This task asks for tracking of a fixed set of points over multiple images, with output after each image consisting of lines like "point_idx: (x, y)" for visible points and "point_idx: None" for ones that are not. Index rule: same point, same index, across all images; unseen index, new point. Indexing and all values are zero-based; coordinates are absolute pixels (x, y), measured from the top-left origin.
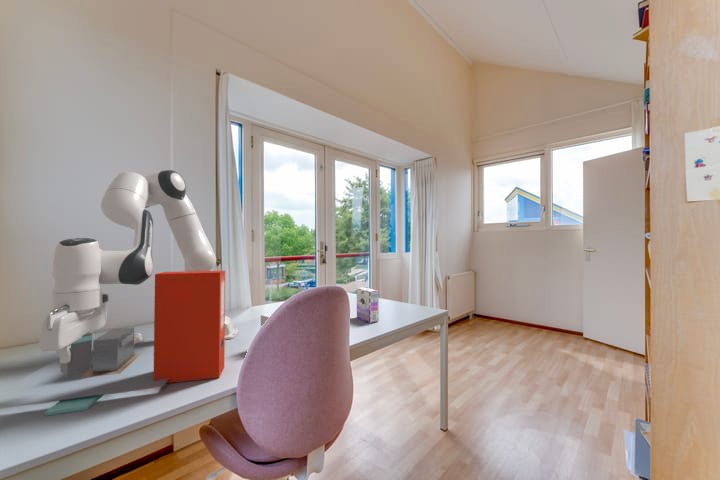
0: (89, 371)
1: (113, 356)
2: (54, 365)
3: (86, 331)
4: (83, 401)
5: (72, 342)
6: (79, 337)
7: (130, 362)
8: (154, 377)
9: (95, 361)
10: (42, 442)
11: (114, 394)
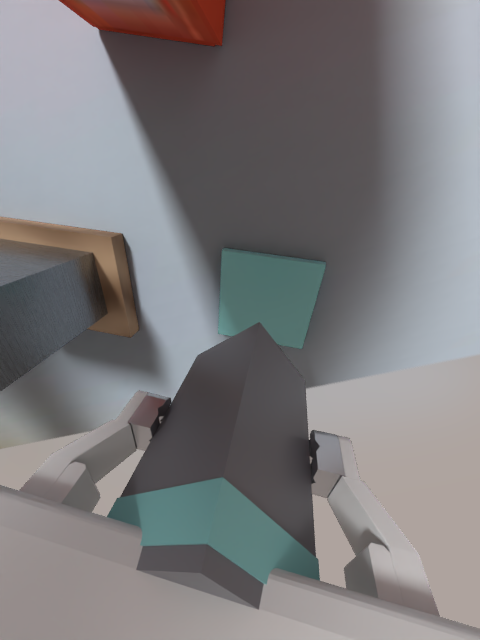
0: (92, 325)
1: (49, 283)
2: (44, 389)
3: (168, 622)
4: (282, 285)
5: (436, 630)
6: (311, 617)
7: (24, 229)
8: (212, 17)
9: (77, 328)
10: (471, 309)
11: (248, 211)
